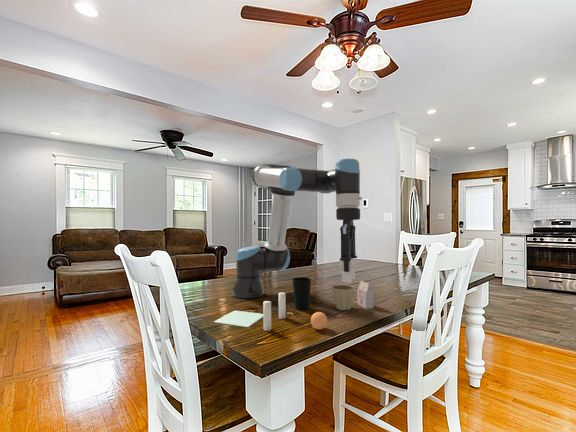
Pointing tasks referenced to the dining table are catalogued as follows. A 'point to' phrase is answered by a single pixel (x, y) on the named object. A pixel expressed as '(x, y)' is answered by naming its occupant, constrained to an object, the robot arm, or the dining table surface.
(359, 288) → the milk carton
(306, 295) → the cup
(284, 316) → the right post
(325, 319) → the ball
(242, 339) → the dining table surface
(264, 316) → the left post
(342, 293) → the flower pot
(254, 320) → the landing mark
